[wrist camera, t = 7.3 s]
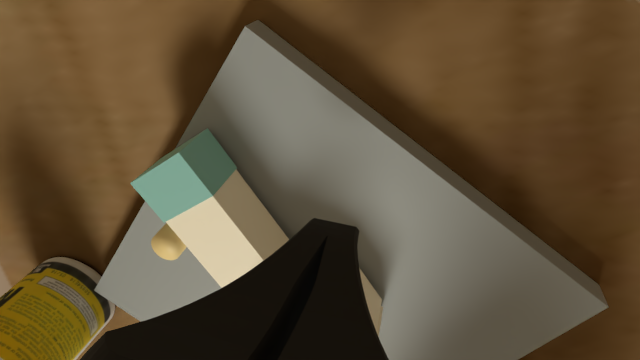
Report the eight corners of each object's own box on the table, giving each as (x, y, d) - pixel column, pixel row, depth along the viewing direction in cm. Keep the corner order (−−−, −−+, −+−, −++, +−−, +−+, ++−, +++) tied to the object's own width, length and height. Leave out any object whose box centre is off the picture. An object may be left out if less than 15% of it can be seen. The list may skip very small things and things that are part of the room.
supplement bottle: (51, 238, 24) (-120, 373, 16) (130, 288, 24) (-4, 442, 17) (32, 289, 26) (-124, 426, 19) (103, 333, 26) (-23, 484, 19)
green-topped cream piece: (406, 333, 19) (402, 375, 17) (292, 365, 22) (278, 404, 20) (243, 104, 16) (218, 127, 14) (132, 176, 18) (99, 202, 17)
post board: (599, 284, 17) (663, 433, 12) (350, 437, 26) (327, 564, 20) (258, 19, 16) (167, 64, 10) (109, 274, 24) (17, 369, 19)
